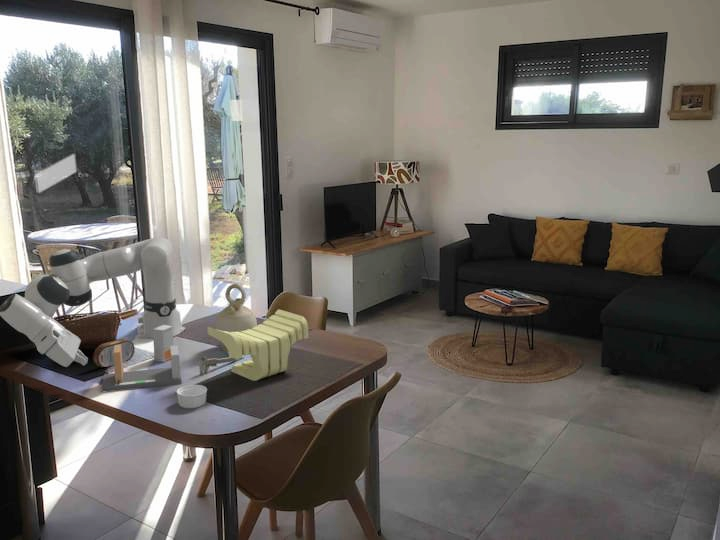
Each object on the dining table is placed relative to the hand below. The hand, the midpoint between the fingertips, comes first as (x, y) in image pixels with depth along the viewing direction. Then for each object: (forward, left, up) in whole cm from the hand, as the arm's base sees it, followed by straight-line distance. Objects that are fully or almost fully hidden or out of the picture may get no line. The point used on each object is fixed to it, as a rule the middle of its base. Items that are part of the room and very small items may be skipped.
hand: (86, 362), depth 197 cm
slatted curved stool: (+17, +52, -8) cm, 55 cm away
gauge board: (+4, +16, -8) cm, 18 cm away
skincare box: (-13, +28, -8) cm, 32 cm away
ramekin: (+30, +24, -9) cm, 39 cm away
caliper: (+5, +43, -9) cm, 44 cm away
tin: (-17, +12, -8) cm, 22 cm away
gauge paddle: (+3, +9, -6) cm, 11 cm away
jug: (-11, +55, -8) cm, 57 cm away
